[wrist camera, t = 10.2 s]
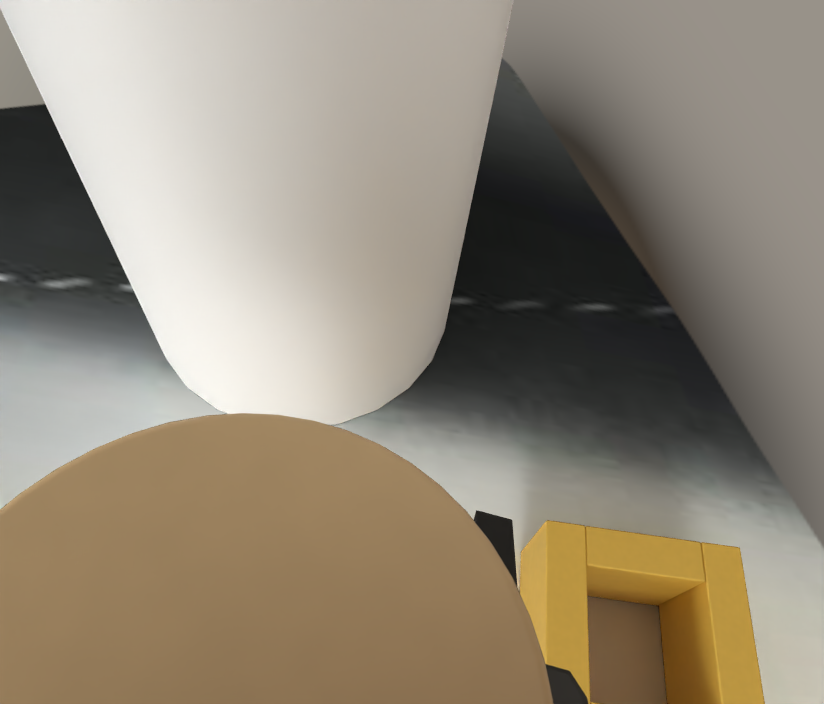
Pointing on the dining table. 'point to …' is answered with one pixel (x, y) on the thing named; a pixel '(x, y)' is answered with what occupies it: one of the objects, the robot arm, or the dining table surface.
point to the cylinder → (278, 178)
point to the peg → (255, 577)
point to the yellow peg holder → (648, 584)
